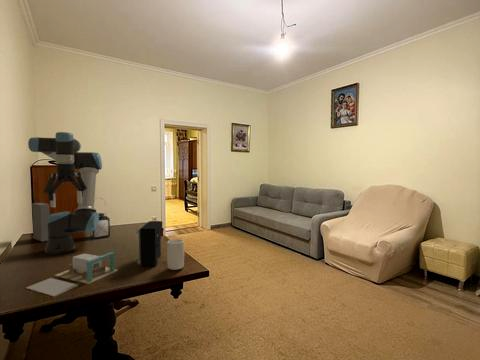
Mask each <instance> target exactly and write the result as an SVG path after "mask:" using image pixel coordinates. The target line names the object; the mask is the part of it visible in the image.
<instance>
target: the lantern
mask: <svg viewBox="0 0 480 360" xmlns="http://www.w3.org/2000/svg"><path fill="white" fill-rule="evenodd" d="M100 199H101V200H103V198H101V197H100ZM95 200H96V199H94V202H95ZM104 203H105V205H107V203H106V202H104ZM97 213H98V214H99V222H98V226H97V228H96V229H95V230H94V231H89V232H90V237H91V238H92V239H93V240H95V239H99V238H106V237H110V236H111V225H110V223H111V222H110V217H108V216H107V215H106V213H103V212H97Z"/></svg>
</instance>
